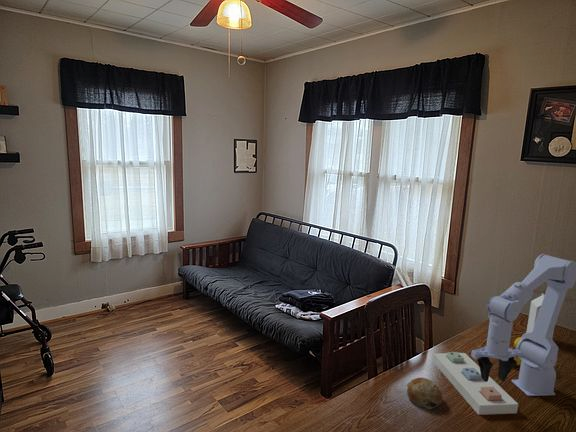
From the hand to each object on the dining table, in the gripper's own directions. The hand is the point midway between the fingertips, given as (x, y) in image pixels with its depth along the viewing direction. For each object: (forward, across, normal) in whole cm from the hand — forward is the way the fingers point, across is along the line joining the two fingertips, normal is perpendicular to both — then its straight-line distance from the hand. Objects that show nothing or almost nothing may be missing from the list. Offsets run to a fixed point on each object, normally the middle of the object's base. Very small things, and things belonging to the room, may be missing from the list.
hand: (492, 379), depth 112 cm
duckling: (+9, +25, +21) cm, 34 cm away
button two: (+6, 0, +20) cm, 21 cm away
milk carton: (+9, +47, +38) cm, 61 cm away
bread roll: (+9, -19, +4) cm, 21 cm away
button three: (+6, 0, +10) cm, 12 cm away
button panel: (+8, 0, +10) cm, 13 cm away
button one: (+6, 0, 0) cm, 6 cm away
